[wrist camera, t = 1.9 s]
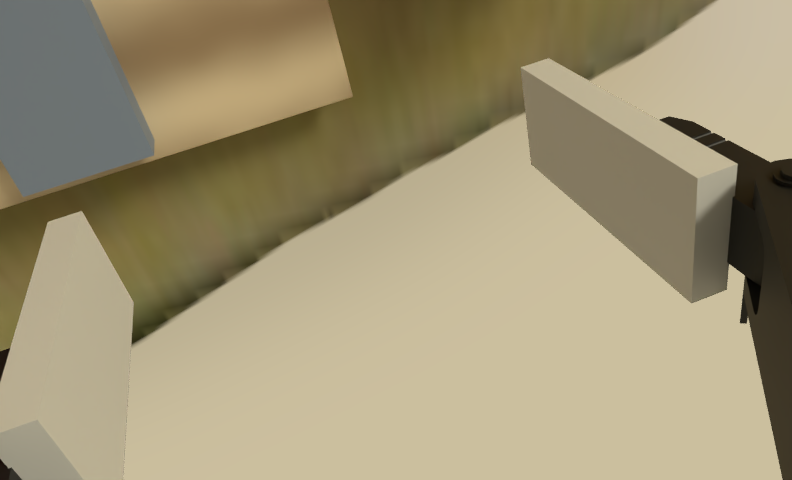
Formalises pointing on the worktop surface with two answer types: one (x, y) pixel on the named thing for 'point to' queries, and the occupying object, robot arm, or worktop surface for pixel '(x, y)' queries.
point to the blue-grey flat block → (63, 96)
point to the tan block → (216, 69)
